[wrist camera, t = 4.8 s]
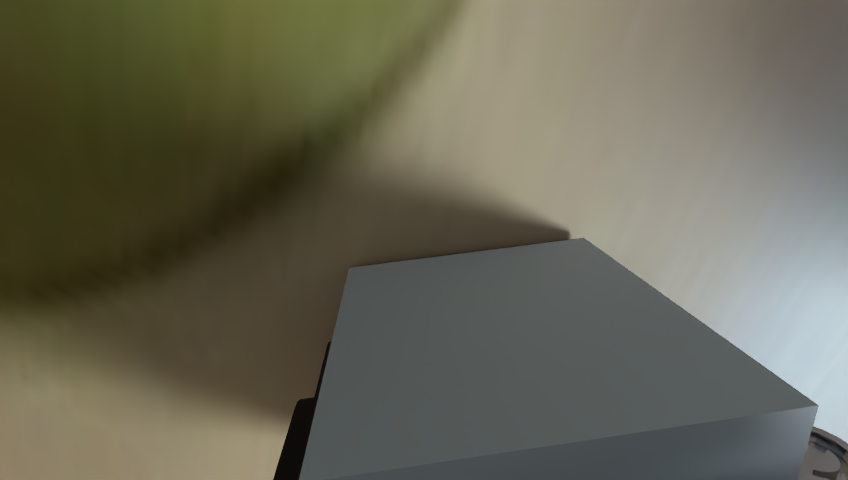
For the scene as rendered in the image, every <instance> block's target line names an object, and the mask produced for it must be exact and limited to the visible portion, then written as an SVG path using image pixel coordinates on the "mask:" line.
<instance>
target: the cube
mask: <svg viewBox="0 0 848 480" xmlns="http://www.w3.org/2000/svg"><path fill="white" fill-rule="evenodd" d="M817 409H818V405H817V404H816V403H814V402H813V401H811V400H810V399H809V398H807V397H806V396H804V395H803V394H802V393H800V392H799V391H797V390H796V389H795V388H793V387H792V386H790V385H789V384H788V383H786V382H785V381H783V380H782V379H781V378H779V377H778V376H776V375H775V374H774V373H772V372H771V371H769V370H768V369H767V368H765V367H764V366H762V365H761V364H760V363H758V362H757V361H755V360H754V359H753V358H751V357H750V356H748V355H747V354H746V353H744V352H743V351H741V350H740V349H739V348H737V347H736V346H734V345H733V344H732V343H730V342H729V341H727V340H726V339H725V338H723V337H722V336H720V335H719V334H718V333H716V332H715V331H713V330H712V329H711V328H709V327H708V326H706V325H705V324H704V323H702V322H701V321H699V320H698V319H697V318H695V317H694V316H692V315H691V314H690V313H688V312H687V311H685V310H684V309H683V308H681V307H680V306H678V305H677V304H676V303H674V302H673V301H671V300H670V299H669V298H667V297H666V296H664V295H663V294H662V293H660V292H659V291H657V290H656V289H655V288H653V287H652V286H650V285H649V284H648V283H646V282H645V281H643V280H642V279H641V278H639V277H638V276H636V275H635V274H634V273H632V272H631V271H629V270H628V269H627V268H625V267H624V266H622V265H621V264H620V263H618V262H617V261H615V260H614V259H613V258H611V257H610V256H608V255H607V254H606V253H604V252H603V251H601V250H600V249H599V248H597V247H596V246H594V245H593V244H592V243H590V242H589V241H587V240H586V239H585V238H579V239H571V240H563V241H555V242H548V243H540V244H532V245H524V246H516V247H508V248H501V249H493V250H485V251H477V252H469V253H461V254H454V255H446V256H438V257H430V258H422V259H415V260H407V261H399V262H391V263H383V264H375V265H368V266H360V267H352V268H349V269H348V274H347V278H346V282H345V286H344V291H343V295H342V299H341V303H340V308H339V312H338V316H337V320H336V325H335V329H334V333H333V337H332V342H331V346H330V350H329V354H328V359H327V363H326V367H325V371H324V375H323V380H322V384H321V388H320V392H319V397H318V401H317V405H316V409H315V414H314V418H313V422H312V426H311V431H310V435H309V439H308V443H307V448H306V452H305V456H304V460H303V465H302V469H301V473H300V477H299V480H798V477H799V473H800V470H801V466H802V463H803V459H804V455H805V452H806V448H807V445H808V441H809V438H810V434H811V430H812V427H813V423H814V420H815V416H816V413H817Z"/></svg>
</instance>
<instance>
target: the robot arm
mask: <svg viewBox="0 0 848 480" xmlns="http://www.w3.org/2000/svg"><path fill="white" fill-rule="evenodd" d="M330 346H331V342H328V345H327V349H326V353H325V357H324V361H323V365H322V369H321V373H320V377H319V381H318V385H317V389H316V393H315V397H314V398H308V399H300V400H299V401H298V402H297V404H296V407H295V410H294V413H293V416H292V420H291V423H290V426H289V430H288V433H287V436H286V439H285V443H284V446H283V449H282V453H281V456H280V459H279V462H278V466H277V469H276V472H275V476H274V479H273V480H299V477H300V473H301V469H302V465H303V460H304V456H305V452H306V448H307V443H308V439H309V435H310V431H311V426H312V422H313V418H314V414H315V409H316V405H317V401H318V397H319V392H320V388H321V384H322V380H323V375H324V371H325V367H326V363H327V359H328V354H329V350H330ZM798 480H848V444H847V443H846V442H845V441H843V440H842V439H840V438H838V437H836V436H834V435H832V434H830V433H828V432H826V431H824V430H822V429H819V428H816V427H812V430H811V434H810V438H809V441H808V445H807V448H806V452H805V455H804V459H803V463H802V466H801V470H800V473H799V477H798Z"/></svg>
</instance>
